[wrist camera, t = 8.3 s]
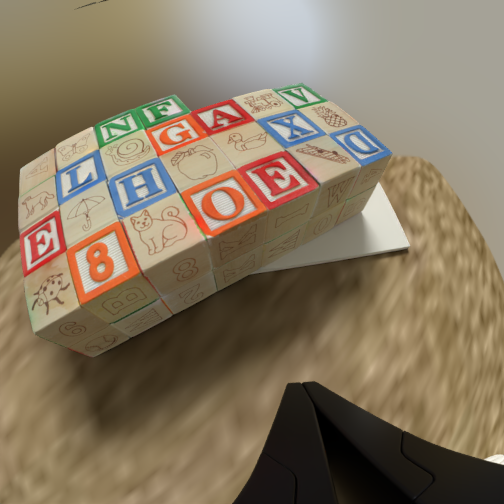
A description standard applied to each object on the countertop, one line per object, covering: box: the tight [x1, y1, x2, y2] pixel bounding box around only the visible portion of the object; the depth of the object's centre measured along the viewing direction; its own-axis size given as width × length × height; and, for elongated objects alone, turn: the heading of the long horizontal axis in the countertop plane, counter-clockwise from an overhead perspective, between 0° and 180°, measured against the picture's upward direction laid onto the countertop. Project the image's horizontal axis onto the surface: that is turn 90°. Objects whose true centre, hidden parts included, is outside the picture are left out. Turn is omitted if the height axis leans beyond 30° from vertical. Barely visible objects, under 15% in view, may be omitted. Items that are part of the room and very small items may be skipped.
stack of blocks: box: [18, 83, 392, 357], centre depth 17 cm, size 21×6×12 cm
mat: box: [251, 182, 410, 274], centre depth 21 cm, size 14×25×1 cm, turn 100°
